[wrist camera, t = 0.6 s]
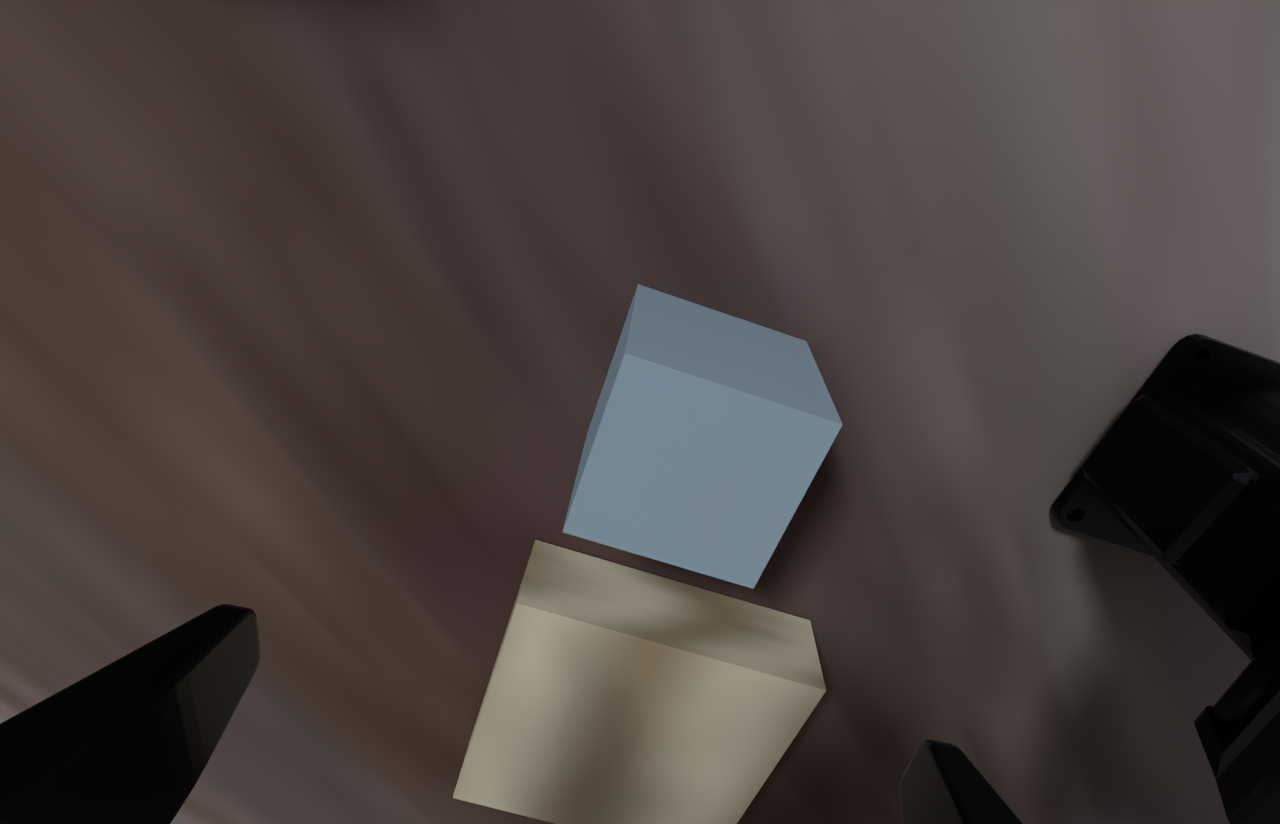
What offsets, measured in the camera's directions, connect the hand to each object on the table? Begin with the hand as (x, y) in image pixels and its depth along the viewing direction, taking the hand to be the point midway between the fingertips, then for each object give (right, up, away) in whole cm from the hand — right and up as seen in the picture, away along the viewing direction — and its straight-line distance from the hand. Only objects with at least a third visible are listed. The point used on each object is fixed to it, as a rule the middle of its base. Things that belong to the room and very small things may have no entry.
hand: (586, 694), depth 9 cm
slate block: (+2, +4, +11) cm, 12 cm away
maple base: (0, -6, +17) cm, 18 cm away
